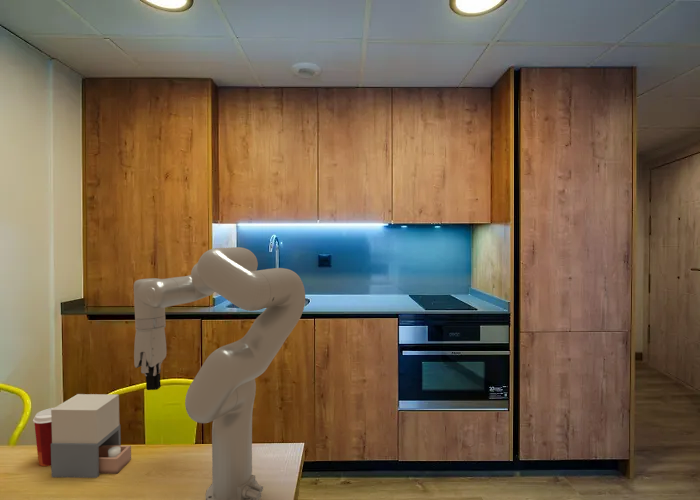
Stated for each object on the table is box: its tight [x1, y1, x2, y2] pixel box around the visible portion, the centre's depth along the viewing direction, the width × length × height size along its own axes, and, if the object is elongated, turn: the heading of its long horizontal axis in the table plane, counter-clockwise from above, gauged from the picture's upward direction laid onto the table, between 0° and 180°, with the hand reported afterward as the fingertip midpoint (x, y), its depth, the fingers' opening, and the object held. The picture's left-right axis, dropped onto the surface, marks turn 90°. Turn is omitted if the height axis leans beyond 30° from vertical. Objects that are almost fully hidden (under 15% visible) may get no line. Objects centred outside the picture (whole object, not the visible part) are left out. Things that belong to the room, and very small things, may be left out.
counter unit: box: [50, 393, 122, 479], centre depth 114 cm, size 12×11×18 cm
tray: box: [98, 444, 132, 475], centre depth 114 cm, size 14×7×5 cm, turn 90°
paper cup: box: [32, 407, 54, 467], centre depth 116 cm, size 8×8×14 cm
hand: (153, 388), depth 114 cm, fingers closed
